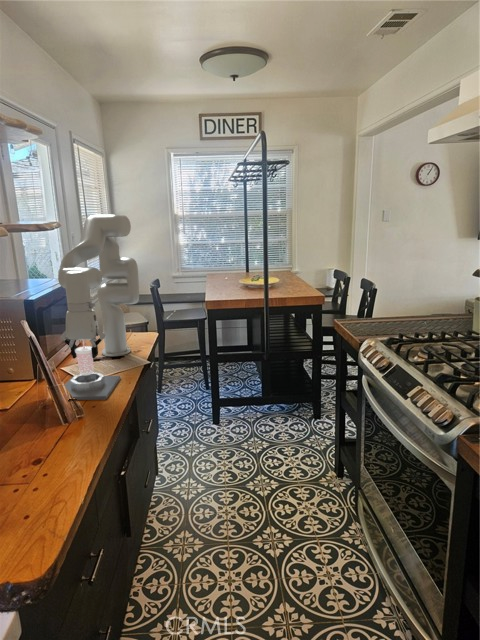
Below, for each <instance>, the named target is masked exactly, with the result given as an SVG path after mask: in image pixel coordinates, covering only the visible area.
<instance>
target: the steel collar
mask: <svg viewBox="0 0 480 640" xmlns="http://www.w3.org/2000/svg"><path fill="white" fill-rule="evenodd" d="M104 376H105V374H102V373H100V372H94V373H93V374H90V375H80V374H77V375H74V377H73V376H72V377H73V379H72V380H71V389H73V390H75V391H76V392H91V391H94V390H97V389H100V388H102V386H103V385H104V384H105V380H104ZM87 381H91V382H87Z"/></svg>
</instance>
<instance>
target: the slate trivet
mask: <svg viewBox="0 0 480 640" xmlns="http://www.w3.org/2000/svg"><path fill="white" fill-rule="evenodd" d="M74 376H75V375H74ZM74 376H71V377H70V379H68V380H67V381H66V382H65V384H64V385H63V386H65V387H66V389H67V390H68V391H69V392H70V394H71V395H72V397H73V398H75V399H77V400H76V401H87V400H89V401H91V400H92V401H98V400H102V401H103V400H108V398H109V396H110V395H111V394H112V392H113V391H114V389H115V388H116V386H117V384H118V383H119V382H120V380H121V375H104V380H105V384H104V385H103V386H102V388H100V389H97V390H94V391H91V392H76V391H75V390H73V389H71V380H72V379H73V377H74ZM87 382H91V381H87Z"/></svg>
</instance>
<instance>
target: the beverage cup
mask: <svg viewBox="0 0 480 640" xmlns="http://www.w3.org/2000/svg"><path fill="white" fill-rule="evenodd" d="M91 348H92V346H90V345H88V346H86V345H85V340H82V346H79V347H77V348H76V349H75V353H76V355H77V357H76V359H77V366H78V371H79V375H90V374H93V373H94V358H92V350H91Z"/></svg>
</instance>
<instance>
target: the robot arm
mask: <svg viewBox="0 0 480 640" xmlns="http://www.w3.org/2000/svg"><path fill="white" fill-rule="evenodd" d="M131 229H132V226H131V222H130V219H129V217H128V216H127V215H120V214H93V215H89V216H88V217H87V218H86V219H85V221H84V224H83V227H82V232H81V235H80V240H79V243H78V244H76V245H75V246H74V247H72V248H71V249H70V250H69V251H68V252H67V253H66V254H65V255H64V256H63V257H62V259H61V260H60V261H61V262H60V265H59V270H58V275H57V276H58V277H57V281H58V283H59V285H60V287H62V288H63V289H65V294H66V295H65V296H66V303H67V305H66V306H67V311H66V313H65V330H64V331H63V332H62V333H61V335H60V336H59V338H60V340H62V341H63V342H64V343H65V344H66V345H67V346H68V348H69V349H70V354H71V355H70V356H72V359H77V355H76V353H75V349H76V348H78V346H77V344H76V342H77V341H83V340H84V341H89V342H90V344H91V345H92V346H91V347H92V348H91V350H92V358H93V359H95V358H97V357H98V355H99V350H98V349H99V347H98V346H99V345H100V344H101V342H102V341H103V342H104V348H103V349H102V350H101V355H103V356H104V357H120V356H121V357H122V356H125V355H127V354H128V355H129V353H130V352H132V351H131V350H132V349H131V347H129V346H128V345H127V344H128V342H127V332H126V319H125V313H124V310H123V309H122V308H121V305H135V304H138V302H139V300H140V284H139V283H140V282H139V268H138V264H137V261H136V260H135V258H133V257H127V256H126V257H121V256H120V246H119V243H118V242H117V241H116V239H115V238H124V237H128V236H129V235H130V233H131ZM97 257H98V263H99V269H98V268H96V267H91V266H90V267H88V266H83V267H82V266H79V267H77V266H78V265H80V264H83V263H84V262H87V261H90V260H92V259H95V258H97ZM103 279H104V280H112V281H113V280H116V281H118V280H120V281H121V280H125V281H126V282H106V283H102V281H103ZM93 289H97V290H96V291H97V292H96V295H97V297H98V298H97V299H98V302H99V305H100V306H99V307H100V311H101V321H102V330H101V329H100V328H99V322H98V318H97V314H96V311H95V309H93V308H96V303H93V302H92V300H91V299H92V298H91V292H90V291H91V290H93ZM97 337H99V338H98V339H97Z"/></svg>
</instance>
